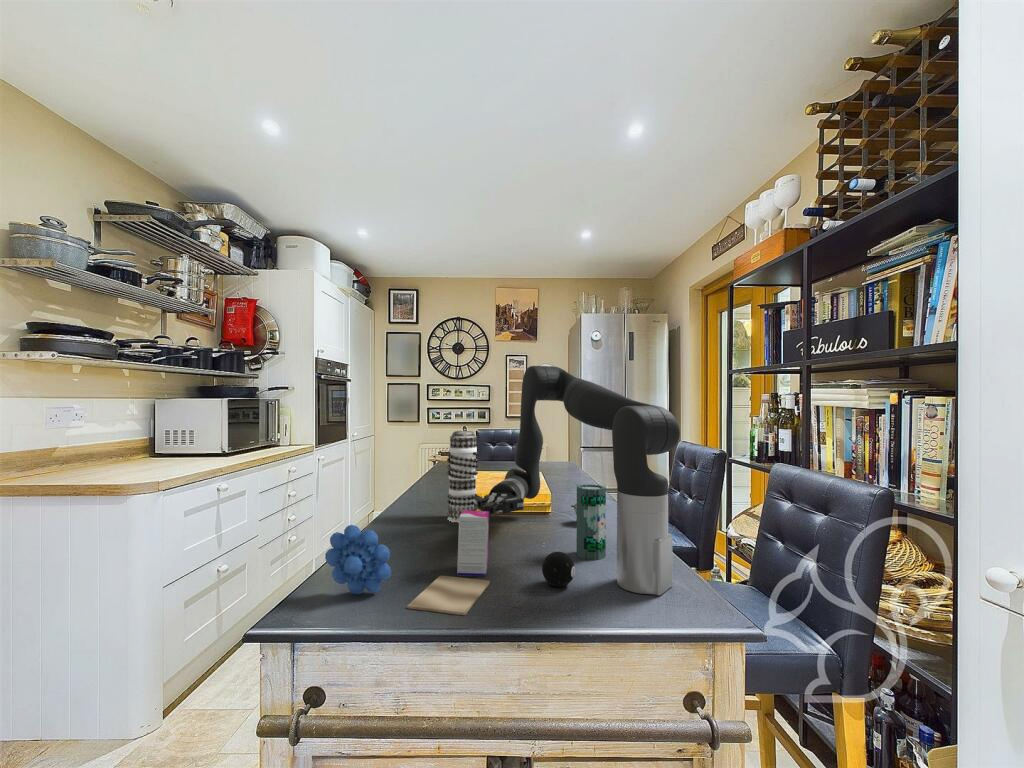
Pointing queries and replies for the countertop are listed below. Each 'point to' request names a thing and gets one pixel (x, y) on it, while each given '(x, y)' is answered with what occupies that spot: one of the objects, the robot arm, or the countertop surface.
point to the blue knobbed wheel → (358, 560)
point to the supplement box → (473, 543)
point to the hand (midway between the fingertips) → (487, 511)
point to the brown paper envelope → (449, 595)
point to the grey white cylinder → (462, 473)
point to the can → (591, 522)
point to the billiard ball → (558, 569)
